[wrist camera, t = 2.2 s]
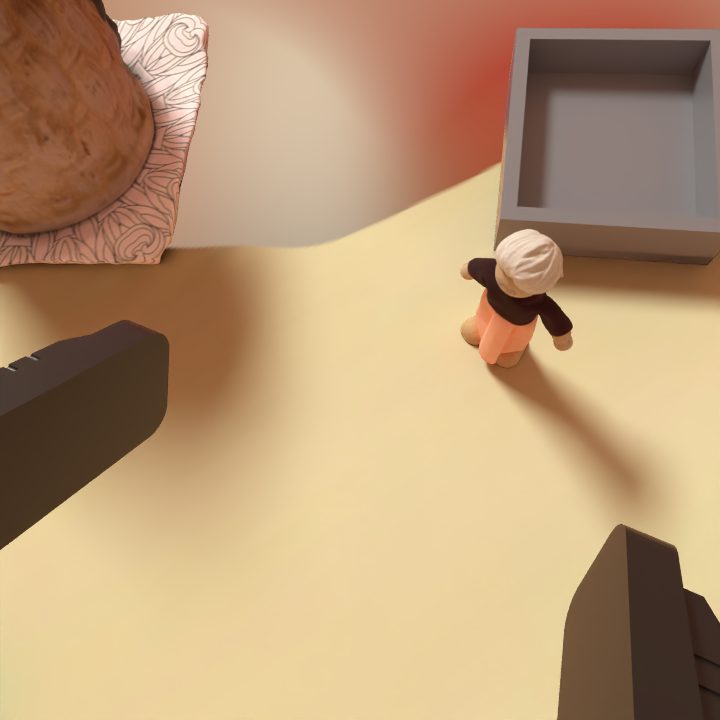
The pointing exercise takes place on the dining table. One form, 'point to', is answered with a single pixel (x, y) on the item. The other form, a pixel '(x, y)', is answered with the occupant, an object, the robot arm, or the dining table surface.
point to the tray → (614, 142)
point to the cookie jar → (94, 130)
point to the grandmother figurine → (516, 298)
